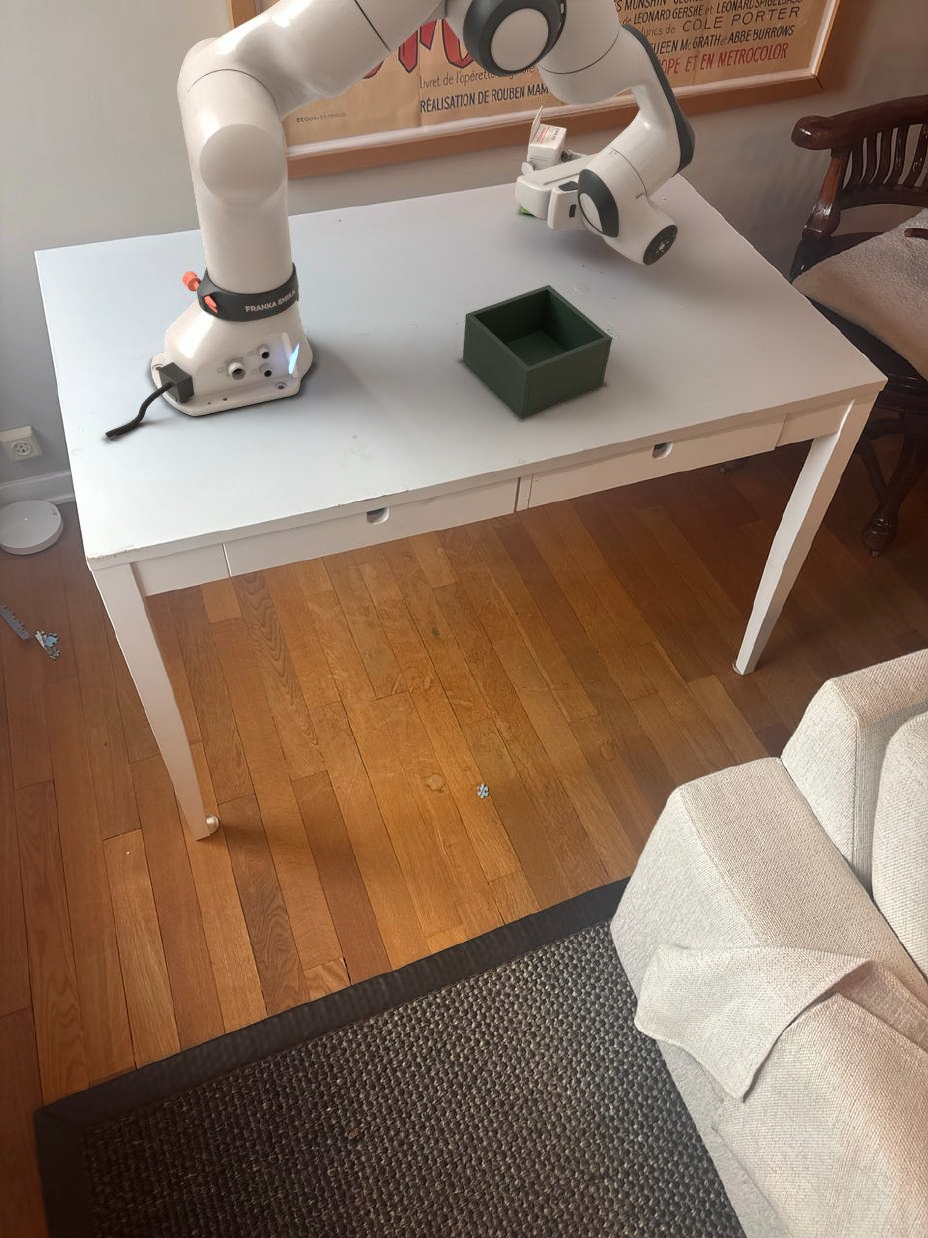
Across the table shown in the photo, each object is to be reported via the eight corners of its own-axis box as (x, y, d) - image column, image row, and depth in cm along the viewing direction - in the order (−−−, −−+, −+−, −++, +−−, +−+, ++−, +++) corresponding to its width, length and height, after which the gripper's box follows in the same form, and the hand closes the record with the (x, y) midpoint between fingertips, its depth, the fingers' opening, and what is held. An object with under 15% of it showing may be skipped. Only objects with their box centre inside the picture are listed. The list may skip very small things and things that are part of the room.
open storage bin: (521, 418, 133) (527, 371, 127) (462, 361, 140) (465, 313, 134) (602, 384, 139) (612, 338, 132) (542, 331, 146) (549, 284, 139)
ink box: (548, 218, 165) (560, 130, 154) (520, 212, 166) (529, 124, 154) (558, 194, 171) (570, 108, 159) (531, 189, 171) (541, 102, 160)
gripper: (649, 163, 155) (596, 126, 162) (549, 194, 148) (497, 154, 154) (641, 200, 160) (590, 163, 167) (544, 233, 153) (494, 192, 159)
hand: (544, 159), depth 161 cm, fingers closed on ink box, 7 cm apart
